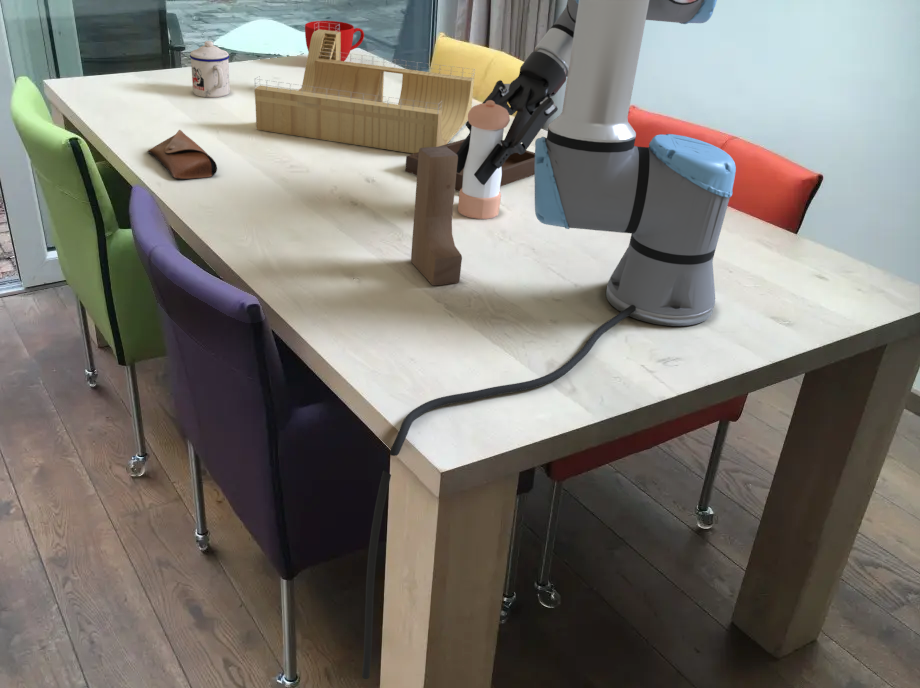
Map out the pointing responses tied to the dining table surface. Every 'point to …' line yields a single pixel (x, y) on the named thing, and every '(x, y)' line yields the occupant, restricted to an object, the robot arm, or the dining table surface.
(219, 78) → the teacup with lid
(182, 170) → the sunglasses case
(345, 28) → the ceramic cup
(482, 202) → the pepper shaker
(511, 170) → the tray
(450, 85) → the skate ramp
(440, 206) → the wooden block
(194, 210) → the dining table surface
